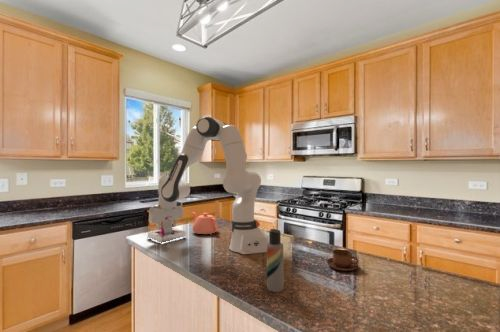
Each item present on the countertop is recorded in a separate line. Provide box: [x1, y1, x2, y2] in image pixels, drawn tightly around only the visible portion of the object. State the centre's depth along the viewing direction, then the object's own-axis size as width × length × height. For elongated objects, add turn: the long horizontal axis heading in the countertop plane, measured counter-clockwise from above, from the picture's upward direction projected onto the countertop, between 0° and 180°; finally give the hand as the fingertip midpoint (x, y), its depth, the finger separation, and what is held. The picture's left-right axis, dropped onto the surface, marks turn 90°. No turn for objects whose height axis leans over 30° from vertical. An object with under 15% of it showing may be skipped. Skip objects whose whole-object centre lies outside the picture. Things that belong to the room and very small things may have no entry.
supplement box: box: [160, 216, 173, 235], centre depth 147 cm, size 6×6×12 cm
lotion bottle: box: [266, 228, 285, 293], centre depth 88 cm, size 6×6×20 cm
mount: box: [147, 227, 187, 243], centre depth 147 cm, size 15×15×5 cm
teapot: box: [191, 211, 219, 235], centre depth 160 cm, size 22×16×12 cm
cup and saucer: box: [326, 249, 359, 272], centre depth 106 cm, size 12×12×6 cm
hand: (166, 228), depth 147 cm, fingers closed on supplement box, 8 cm apart
